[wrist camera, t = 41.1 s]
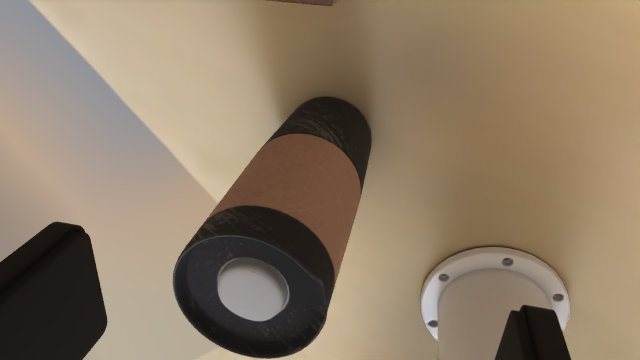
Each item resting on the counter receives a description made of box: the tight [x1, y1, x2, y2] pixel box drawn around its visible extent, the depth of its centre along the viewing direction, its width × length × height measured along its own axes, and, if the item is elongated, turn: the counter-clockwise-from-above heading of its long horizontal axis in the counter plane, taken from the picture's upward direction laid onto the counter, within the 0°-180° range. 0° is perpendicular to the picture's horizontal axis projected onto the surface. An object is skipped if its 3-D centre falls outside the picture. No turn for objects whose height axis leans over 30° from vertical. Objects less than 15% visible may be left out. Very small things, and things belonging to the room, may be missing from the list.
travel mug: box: [173, 97, 371, 359], centre depth 31 cm, size 8×8×20 cm
